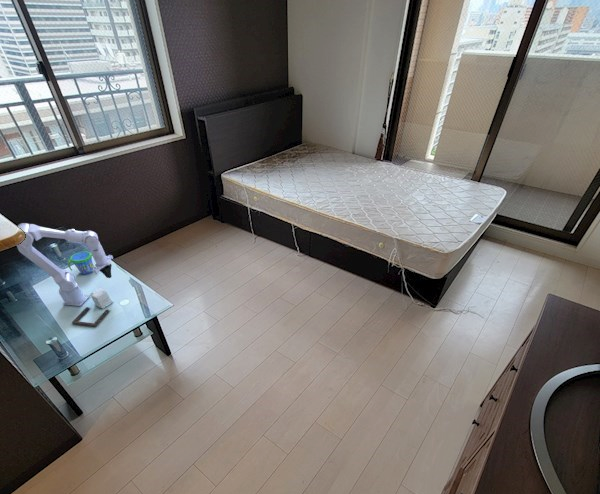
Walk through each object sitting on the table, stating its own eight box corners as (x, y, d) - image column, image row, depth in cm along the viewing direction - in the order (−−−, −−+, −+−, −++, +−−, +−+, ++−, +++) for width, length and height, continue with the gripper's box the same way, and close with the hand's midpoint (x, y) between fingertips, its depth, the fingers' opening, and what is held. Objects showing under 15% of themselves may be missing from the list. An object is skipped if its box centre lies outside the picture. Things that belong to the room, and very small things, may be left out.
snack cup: (100, 262, 207) (93, 248, 200) (103, 271, 201) (96, 256, 194) (71, 270, 201) (63, 255, 194) (74, 279, 194) (66, 264, 187)
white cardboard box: (112, 302, 179) (107, 291, 174) (102, 309, 176) (96, 298, 170) (105, 298, 182) (100, 287, 177) (95, 305, 178) (89, 294, 173)
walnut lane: (72, 324, 167) (71, 322, 166) (87, 308, 176) (86, 307, 175) (95, 327, 166) (94, 325, 165) (109, 311, 174) (108, 309, 173)
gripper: (97, 263, 165) (108, 286, 174) (114, 248, 176) (123, 270, 185) (84, 262, 166) (95, 284, 175) (101, 247, 176) (111, 268, 186)
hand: (109, 277), depth 180 cm, fingers closed
